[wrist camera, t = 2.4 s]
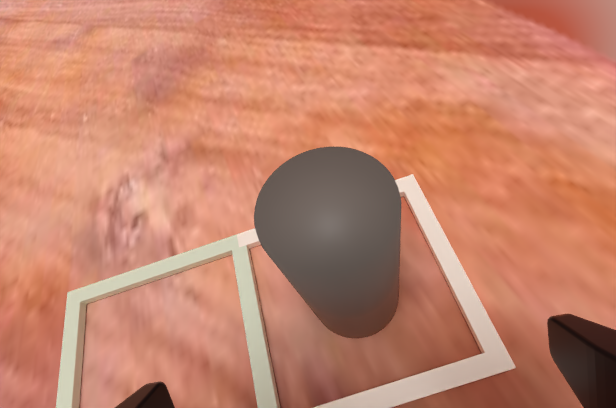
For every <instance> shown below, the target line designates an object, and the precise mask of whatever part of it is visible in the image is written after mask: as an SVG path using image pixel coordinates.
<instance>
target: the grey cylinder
mask: <svg viewBox="0 0 616 408" xmlns="http://www.w3.org/2000/svg"><path fill="white" fill-rule="evenodd" d="M254 224H255V229H256V234H257V236H258V239H259V242H260V243H261V245H262V247H263V249H264V250H265V251H266V253H267V254H268V255H269V257H270V258H271V259H272V260H273V262H274V263H275V264H276V265H277V267H278V268H279V269H280V270H281V272H282V273H283V274H284V275H285V277H286V278H287V279H288V280H289V282H290V283H291V284H292V285H293V287H294V288H295V289H296V290H297V292H298V293H299V294H300V295H301V297H302V298H303V299H304V300H305V302H306V303H307V304H308V305H309V307H310V308H311V309H312V310H313V312H314V313H315V314H316V315H317V317H318V318H319V319H320V320H321V322H322V323H323V324H324V325H325V326H326V327H327V328H328V329H330V330H331V331H333V332H334V333H336V334H338V335H341V336H344V337H348V338H363V337H368V336H371V335H373V334H375V333H377V332H379V331H380V330H382V329H383V328H384V327H385V326H386V325H387V324H388V323H389V322H390V321H391V319H392V318H393V316H394V314H395V312H396V309H397V305H398V296H399V263H400V231H401V197H400V192H399V189H398V186H397V184H396V182H395V179H394V178H393V176H392V175H391V173H390V172H389V171H388V170H387V168H386V167H385V166H384V165H383V164H381V163H380V162H379V161H378V160H376V159H375V158H373V157H372V156H370V155H368V154H366V153H364V152H361V151H358V150H355V149H351V148H346V147H323V148H317V149H313V150H309V151H306V152H303V153H301V154H299V155H297V156H295V157H293V158H291V159H289V160H288V161H286V162H285V163H284V164H282V165H281V166H280V167H279V168H278V169H276V170H275V171H274V172H273V173H272V175H271V176H270V177H269V178H268V179H267V181H266V182H265V184H264V185H263V187H262V189H261V191H260V193H259V196H258V198H257V202H256V206H255V213H254Z"/></svg>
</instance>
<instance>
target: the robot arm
mask: <svg viewBox="0 0 616 408" xmlns="http://www.w3.org/2000/svg"><path fill="white" fill-rule="evenodd" d="M547 325H548V336H549V348H550V353H551V356H552V358H553V360H554V362H555V363H556V365H557V366H558V368H559V370H560V371H561V373H562V374H563V376H564V377H565V379H566V381H567V382H568V384H569V385H570V387H571V388H572V390H573V392H574V393H575V395H576V396H577V398H578V399H579V401H580V403H581V404H582V406H583V407H584V408H616V330H614V329H611V328H608V327H605V326H602V325H600V324H597V323H594V322H591V321H588V320H586V319H583V318H580V317H577V316H574V315H571V314H563V315H557V316H551V317H550V318H549V319H548V323H547ZM115 408H175V407H174V405H173V402H172V399H171V397H170V394H169V392H168V389H167V387H166V385H165V384H164V383H163V382H155V383H149V384H146V385H144V386H143V387H141V388H140V389H139V390H137V391H136V392H135V393H134V394H132V395H131V396H130V397H128V398H127V399H126V400H124V401H123V402H122V403H120V404H119V405H118V406H117V407H115Z"/></svg>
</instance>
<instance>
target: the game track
mask: <svg viewBox="0 0 616 408" xmlns="http://www.w3.org/2000/svg"><path fill="white" fill-rule="evenodd" d="M395 182H396V184H397V186H398V189H399V192H400V197H403V196H404V197H405V199H406V201H407V203H408V205H409V207H410V209H411V211H412V213H413V215H414V217H415V219H416V221H417V223H418V225H419V227H420V229H421V231H422V233H423V235H424V238H425V240H426V242H427V244H428V246H429V248H430V250H431V252H432V254H433V256H434V258H435V260H436V262H437V264H438V266H439V268H440V270H441V272H442V274H443V276H444V278H445V280H446V282H447V284H448V286H449V288H450V290H451V292H452V294H453V296H454V298H455V300H456V302H457V304H458V306H459V308H460V310H461V312H462V314H463V316H464V318H465V320H466V322H467V324H468V326H469V328H470V330H471V332H472V334H473V336H474V338H475V340H476V342H477V344H478V346H479V348H480V350H481V352H482V354H479V355H476V356H473V357H470V358H467V359H464V360H460V361H457V362H454V363H451V364H448V365H445V366H442V367H439V368H435V369H432V370H429V371H426V372H423V373H420V374H417V375H413V376H410V377H407V378H404V379H401V380H398V381H395V382H392V383H388V384H385V385H382V386H379V387H376V388H373V389H370V390H367V391H363V392H360V393H357V394H354V395H351V396H348V397H345V398H341V399H338V400H335V401H332V402H329V403H326V404H323V405H320V406H316V407H313V408H391V407H395V406H398V405H401V404H404V403H407V402H410V401H414V400H417V399H420V398H423V397H426V396H429V395H432V394H436V393H439V392H442V391H445V390H448V389H451V388H455V387H458V386H461V385H464V384H467V383H470V382H474V381H477V380H480V379H483V378H486V377H489V376H492V375H496V374H499V373H502V372H505V371H508V370H511V369H514V368H516V367H515V365H514V363H513V361H512V359H511V357H510V355H509V354H508V352H507V350H506V348H505V346H504V344H503V342H502V340H501V339H500V337H499V335H498V333H497V331H496V329H495V327H494V325H493V324H492V322H491V320H490V318H489V316H488V314H487V312H486V310H485V309H484V307H483V305H482V303H481V301H480V299H479V297H478V295H477V294H476V292H475V290H474V288H473V286H472V284H471V282H470V280H469V279H468V277H467V275H466V273H465V271H464V269H463V267H462V265H461V264H460V262H459V260H458V258H457V256H456V254H455V252H454V250H453V249H452V247H451V245H450V243H449V241H448V239H447V237H446V235H445V234H444V232H443V230H442V228H441V226H440V224H439V222H438V220H437V219H436V217H435V215H434V213H433V211H432V209H431V207H430V205H429V204H428V202H427V200H426V198H425V196H424V194H423V192H422V190H421V189H420V187H419V185H418V183H417V181H416V179H415V177H414V175H413V174H412V175H409V176H406V177H403V178H400V179H397V180H395ZM259 245H261V243H260V242H259V239H258V236H257V234H256V229H255V228H254V229H251V230H248V231H245V232H242V233H239V234H237V235H234V236H231V237H228V238H225V239H222V240H219V241H216V242H213V243H210V244H207V245H204V246H201V247H199V248H196V249H193V250H190V251H187V252H184V253H181V254H178V255H175V256H172V257H169V258H166V259H164V260H161V261H158V262H155V263H152V264H149V265H146V266H143V267H140V268H137V269H134V270H131V271H128V272H126V273H123V274H120V275H117V276H114V277H111V278H108V279H105V280H102V281H99V282H96V283H93V284H90V285H88V286H85V287H82V288H79V289H76V290H73V291H70V292H68V293H67V303H66V313H65V323H64V333H63V343H62V352H61V362H60V372H59V382H58V392H57V402H56V408H79V405H80V391H81V377H82V362H83V348H84V334H85V320H86V306H87V304H88V303H91V302H94V301H97V300H100V299H103V298H106V297H109V296H112V295H115V294H118V293H121V292H124V291H127V290H130V289H132V288H135V287H138V286H141V285H144V284H147V283H150V282H153V281H156V280H159V279H162V278H165V277H168V276H171V275H174V274H177V273H180V272H182V271H185V270H188V269H191V268H194V267H197V266H200V265H203V264H206V263H209V262H212V261H215V260H218V259H221V258H224V257H227V256H229V255H232V254H233V260H234V266H235V272H236V278H237V284H238V290H239V297H240V303H241V309H242V315H243V321H244V327H245V333H246V339H247V345H248V351H249V357H250V363H251V369H252V375H253V382H254V388H255V394H256V400H257V406H258V408H280V403H279V398H278V393H277V388H276V383H275V377H274V372H273V367H272V362H271V357H270V352H269V347H268V341H267V336H266V331H265V326H264V321H263V316H262V311H261V305H260V300H259V295H258V290H257V285H256V280H255V275H254V269H253V264H252V259H251V254H250V248H253V247H256V246H259Z"/></svg>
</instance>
